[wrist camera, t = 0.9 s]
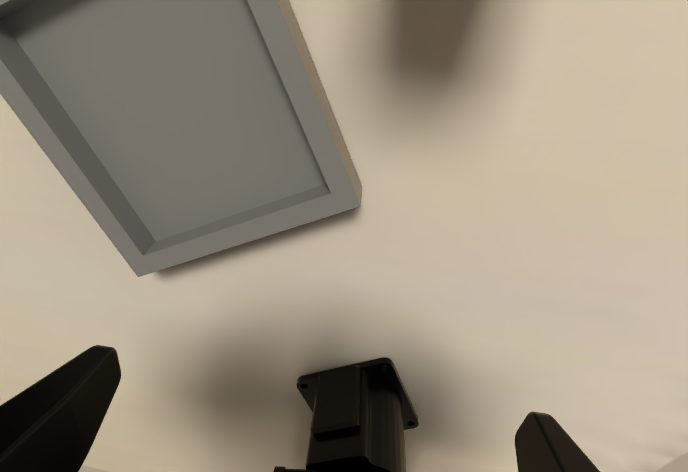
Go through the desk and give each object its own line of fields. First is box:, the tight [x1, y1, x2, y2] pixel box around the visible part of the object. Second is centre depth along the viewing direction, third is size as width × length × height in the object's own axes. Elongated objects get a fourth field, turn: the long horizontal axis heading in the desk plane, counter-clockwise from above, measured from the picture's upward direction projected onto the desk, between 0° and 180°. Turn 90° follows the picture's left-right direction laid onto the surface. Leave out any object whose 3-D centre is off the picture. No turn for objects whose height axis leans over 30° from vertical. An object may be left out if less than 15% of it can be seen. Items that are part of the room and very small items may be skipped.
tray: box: [0, 0, 362, 277], centre depth 18 cm, size 13×12×2 cm
